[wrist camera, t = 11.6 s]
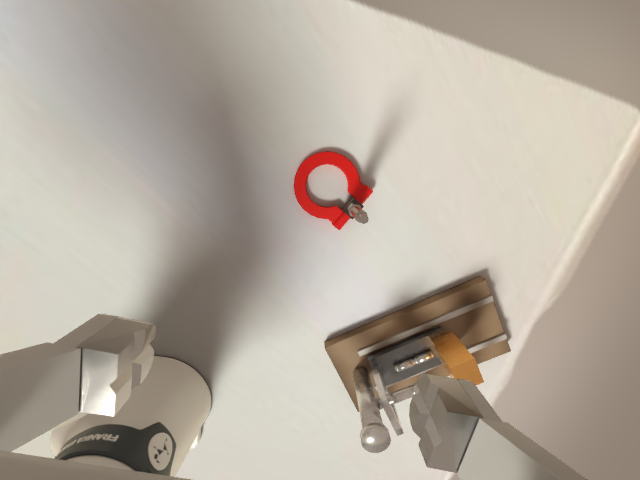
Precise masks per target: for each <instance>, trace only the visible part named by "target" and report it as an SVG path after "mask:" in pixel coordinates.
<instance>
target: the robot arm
mask: <svg viewBox="0 0 640 480" xmlns="http://www.w3.org/2000/svg"><path fill="white" fill-rule="evenodd" d="M155 338H156V326H155V325H154V324H152V323H147V322H143V321H138V320H133V319H128V318H123V317H118V316H113V315H107V314H98V315H96V316H95V317H93V318H92V319H90V320H88V321H87V322H85V323H84V324H82V325H81V326H79V327H78V328H76V329H75V330H73V331H72V332H70V333H69V334H67V335H66V336H64V337H63V338H61V339H60V340H58V341H57V342H55V343H43V344H40V345H36V346H32V347H28V348H24V349H20V350H17V351H13V352H9V353H5V354H1V355H0V480H191V479H185V478H178V477H174V476H175V475H176V473H177V471H178V469H179V468H180V466H181V464H182V462H183V461H184V459H185V457H186V455H187V453H188V452H189V450H190V449H192V448H195V447H196V446H197V444H198V442H199V440H200V437H201V427H202V425H203V423H204V422H205V420H206V419H207V417H208V415H209V412H210V409H211V395H210V391H209V388H208V386H207V384H206V382H205V381H204V379H203V378H202V377H201V375H200V374H199V373H198V372H197V371H195V370H194V369H193V368H192V367H190V366H189V365H187V364H185V363H183V362H181V361H178V360H175V359H172V358H167V357H160V356H154V350H153V348H152V346H151V345H150V343H151V342H152V341H153V340H154V339H155ZM417 386H418V389H419V392H418V393H416V394H415V395H414V396H413V397H412V400H411V403H410V413H409V416H410V422H411V426H412V429H413V431H414V432H415V433H416V434H417V435H418V436H419V437H420V438H421V439H420V442H419V447H420V450H421V453H422V455H423V458H424V460H425V463H426V466H427V467H429V468H434V469H439V470H445V471H450V472H455V473H457V475H458V476H459V478H460V479H461V480H588V479H586V478H585V477H583V476H582V475H580V474H579V473H577V472H576V471H575V470H573V469H572V468H571V467H569V466H568V465H566V464H565V463H564V462H562V461H561V460H559V459H558V458H557V457H555V456H554V455H552V454H551V453H550V452H548V451H547V450H545V449H544V448H543V447H541V446H540V445H538V444H537V443H535V442H534V441H533V440H531V439H530V438H528V437H527V436H526V435H524V434H523V433H521V432H520V431H518V430H517V429H516V428H514V427H513V426H511V425H510V424H508V423H506V422H502V420H501V419H500V418H499V416H498V415H497V414H496V412H495V411H494V410H493V408H492V407H491V406H490V404H489V403H488V402H487V400H486V399H485V398H484V396H483V395H482V394H481V392H480V391H479V390H478V388H477V387H476V386H475V384H474V383H473V382H471V381H470V380H464V379H457V378H449V377H443V376H437V375H430V374H424V373H422V374H421V375H420V377H419V379H418V382H417ZM54 427H55V428H54ZM52 428H54V429H53V430H52V432H51V435H50V444H51V448H52V451H53V453H54V455H55V458H54V459H52V458H45V457H39V456H32V455H25V454H19V453H12V452H11V451H13V450H15V449H17V448H18V447H20V446H22V445H24V444H26V443H27V442H29V441H31V440H33V439H34V438H36V437H38V436H40V435H42V434H43V433H45V432H47V431H49V430H51V429H52Z"/></svg>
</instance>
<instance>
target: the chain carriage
mask: <svg viewBox="0 0 640 480" xmlns="http://www.w3.org/2000/svg"><path fill="white" fill-rule="evenodd" d="M367 358H368V361H369V363H370V365H371V367H372V369H373V371H372V373H373V377H374V380H375V384H376V387H377V391H378V394H379V398H380V402H381V404H382V406H383V408H384V410H385V412H386V414H387V416H388V418H389V420H390V422H391V424H392V426H393V428H394V430H395V432H396V434H397V436H398V435H401V434H403V430H402V427H401V424H400V421H399V418H398V415H397V412H396V409H395V406H394V404H393V405H391V404H390V402H389V400H388V398H387V395H388V394H389V392H388V389H387V386H389V385H391V384H394V383H396V382H399V381H401V380H404V379H406V378H409V377H411V376H414V375H416V374H419V373H421V372H424V371H426V370H429V369H431V368H434V367H436V366H438V365H441V364H442V365H443V366H444V368H445V369H446V371H447V372H448V374H449V375H450V377H451V378H457V379H464V380H470V381H471V382H473V383H474V384H475V385H478V384H480V383H483V382H484V381H483V378H482V376H481V373H480V371H479V368H478V366H477V363H476V360H475V358H474V357H473V356H472V355H471V354H470V352H469V351H468V350H467V349H466V348H465V346H464V345H463V344H462V343H461V342H460V340H459V339H458V338H457V337H456V336H455V335H454V333H453V332H452V331H451V332H449V333H446V334H445V333H444V331H443V329H442V328H441V327H440V326H438V327H436V328H433V329H431V330H429V331H426V332H424V333H421V334H419V335H417V336H414V337H412V338H409V339H407V340H405V341H402V342H400V343H397V344H395V345H393V346H390V347H388V348H385V349H383V350H380V351H378V352H376V353H373V354H371V355H368V356H367Z"/></svg>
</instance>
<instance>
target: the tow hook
mask: <svg viewBox="0 0 640 480" xmlns="http://www.w3.org/2000/svg"><path fill="white" fill-rule="evenodd" d="M324 164H330V165H334V166H337V167H338V168H340V169H341V170H342V171H343V172H344V174H345V175H346V177H347V180H348V192H349V193H350V194H351V195H352V196H353V197H354V198H352V199H351V200H350V201H349V202H348V203H347V205H346V206H345V207H344V208H343V211H342V210H341V209H340V208H339V207H338V206H332V207H322V206H319V205H317V204H315V203H314V202H313V201H312V200H311V199H310V197H309V196H308V193H307V190H306V181H307V178H308V175H309V174H310V173H311V171H312V170H313V169H315V168H316V167H318V166H320V165H324ZM294 190H295V195H296V198H297V200H298V203H299V204H300V205H301V206H302V208H303V209H304V210H305V211H307V212H308V213H309V214H310V215H313V216H315V217H318V218H323V219H329V220H330V221H331V222H332V224H333V225H334V226H335V227H336V228H337V229H339V230H340V229H341V228H342V227H343V226H344V224H345V223H346V222H347V221H348V220H349V219H350V218H351V219H353V218H355V219H356V220H357V221H358V222H360V223H363V224H364V223H367V222H368V217H367V213H366V212H365V211H363V210H362V208H363V205H362V204H363V203H364V202H365V200H366V199H367V198H368V197H369V196H370V195H371V194H372V192H373V191H372V189H371V188H370V187H368V186H367V185H363V184H362V183H361V182H360V178H359V175H358V172H357V169H356V168H355V166H354V165H353V164H352V162H351V161H350V160H348V159H347V158H346V157H345V156H343V155H340V154H338V153H335V152H328V151H327V152H319V153H316V154H314V155H312V156H310V157H309V158H307V159H306V160H305V161H304V162H303V163H302V164H301V166H300V167H299V168H298V170H297V173H296V176H295V181H294Z"/></svg>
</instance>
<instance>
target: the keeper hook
mask: <svg viewBox="0 0 640 480" xmlns="http://www.w3.org/2000/svg"><path fill="white" fill-rule="evenodd" d="M353 379H354V385H355V390H356V396H357V401H358V406H359V412H360V417H361V423H362V428H363V429H362V430H361V433H360V437H361V443H362V446H363V448H364V449H365V450H367V451H369V452H372V453H378V452H382V451H384V450H385V449H387V448H388V446H389V445H390V441H391V439H390V435H389V431H388V429H387V428H386V426H384V425H383V423H382V419H381V415H380V411H379V410H380V409H383V406H382V404H381V402H380V398H378V399H376V396H375V393H374V389H373V385H372V381H371V378H370V374H369V370H368V369H367V368H366V367H364V366H358V367H356V368H355V369H354V370H353ZM418 392H419V389H418V386H417V383H415V384H413V385H410V386H408V387H405V388H403V389H400V390H398V391H395V392H393V393H390V394H388V395H387V398H388V400H389V402H390V404H391V405H393V404H395V403H398V402H400V401H403V400H406V399H408V398H411V397H413V396H414V395H415V394H416V393H418Z"/></svg>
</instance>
